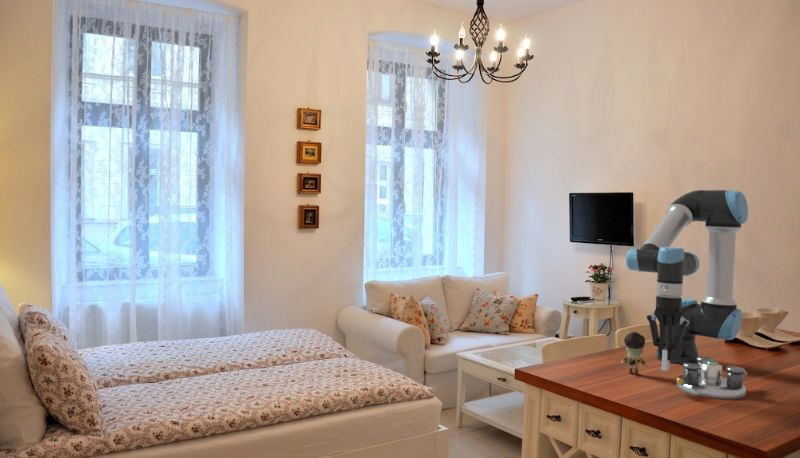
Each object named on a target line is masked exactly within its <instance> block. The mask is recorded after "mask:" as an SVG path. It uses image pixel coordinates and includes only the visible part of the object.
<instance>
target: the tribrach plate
mask: <svg viewBox="0 0 800 458" xmlns="http://www.w3.org/2000/svg"><path fill="white" fill-rule="evenodd" d="M722 372H723V364H720V363H718V364H717V363H716V362H713V361H707V362H703V363H701V377H700V376H699V384H698V385H691V384H684V385H683V386H682V385H678V384H677V383H676V387H678V389H680V390H681V391H683V392H685V393H689V394H692V395H695V396H700V397H704V398H708V399H709V398H710V399H717V400H736V399H737V400H739V399H742V398H745V397H746V394H747V387H746V385H744V384H743V385H742V389H734V388H730V387H727V377H723V376H722V375H723V373H722Z"/></svg>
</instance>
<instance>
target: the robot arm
mask: <svg viewBox="0 0 800 458" xmlns="http://www.w3.org/2000/svg"><path fill="white" fill-rule="evenodd" d="M748 217H749V207H748V201H747V199H746V196H745V195H744V193H743V192H741V191H739V190H729V189H726V190H724V189H722V190H720V189H718V190H717V189H713V190H712V189H711V190H710V189H709V190H705V189H697V190H692V191H689V192H687V193H684V194H683V195H681V196H680V197H678V198H676V199H675V200H674V201H673V202H671V203H670V205H669V206H668V207H667V209H666V211H665V216H664V217H663V218H662V219H661V220H660V222H659V223H658V225H657V226H656V227H655V229H654V230H653V231H652V232H651V233H650V235H649V237H648V238H647V239H646V240H645V241H644V243H643V244H642V245H641V247H639V248H636V247H635V248H631V249H630V248H629V250H628V251H627V253H626V256H625V263H626V267H627V269H629V270H631V271H637V272H644V273H645V272H646V273H654V274H656V275H657V276H656V294H657V295H656V298H655V310H654V311H653V313H651V314H648V315H646V319H647V321H648V322H649V327H650V332H651V333H650V334H651V338H652V342H653V343H652V345H653V346H654V347H657V349H656V351H655V352H656V353H655V354H656V355H655V357H656V359H658V360H660V361H661V371H664V372H667V371H669V370H670V363H672V364H679V365H683V363H686V362H689V363H696V364H698V361H697V360H696V359H697V357H698V356H700V353H699V349H698V345H697V342H696V336H699V337H700V336H701V337H706V338H712V339H717V340H725V341H731V340H734V339H735V338H736V337H737V335H738V333H739V332H740V331H741V327H742V322H743V312H742V310H741V309H740V308H737V306H738V304H737V302H736V301H735V299H734V298H733V293H734V273H735V272H734V271H735V270H734V269H735V259H736V258H735V257H736V256H735V255H736V239H737V238H736V237H737V232H738V231H739V230H741V229H742V224H745V223H746V222H747V221H748ZM693 222H703V223H705V225H704V227H705V228H706V229H707V230H708V232H709V235H708V236H709V237H708V253H707V274H706V275H707V276H706V289H705V290H706V293H705V296H704V297H703V298H702V299H701V301H700V303H698V301H697V299H696V298H695V299H694V298H682V296H683V285H684V284H683V283H684V276H691V275H693V274H695V273H696V272H697V271H698V270H699V268H700V260H699V258H698V256H697V255H696V254H694V253H693V252H690V251H685V249H684V248H682V247H676V246H672V244H673V243H674V242H675V240H676V239H677V237H678V236H679V235H680V233H681V232H682V231H683V230H684V228H685V227H688V226H689V225H691V224H692V223H693ZM657 321H658V323H659V325H658V323H657ZM658 326H659V327H658ZM658 328H659V329H658Z"/></svg>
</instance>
